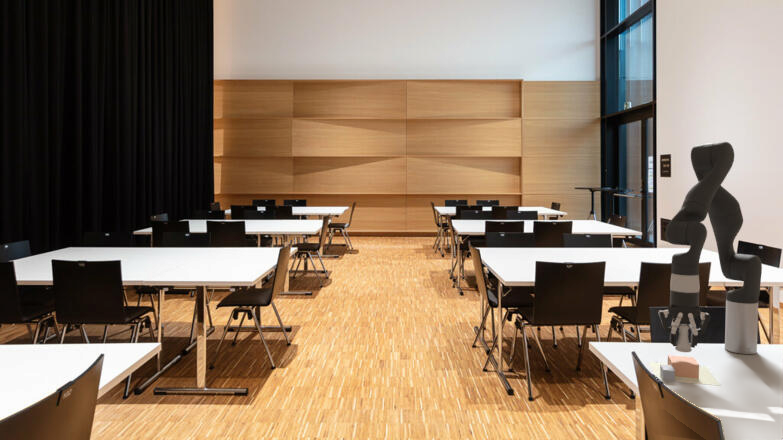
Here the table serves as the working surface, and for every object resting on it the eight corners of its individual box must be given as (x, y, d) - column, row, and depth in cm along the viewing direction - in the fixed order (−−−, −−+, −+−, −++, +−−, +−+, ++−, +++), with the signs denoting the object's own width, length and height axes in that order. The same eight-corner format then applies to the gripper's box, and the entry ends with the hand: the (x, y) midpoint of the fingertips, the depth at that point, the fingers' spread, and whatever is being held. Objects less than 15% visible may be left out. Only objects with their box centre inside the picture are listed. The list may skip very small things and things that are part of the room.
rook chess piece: (694, 353, 155) (694, 326, 154) (677, 352, 156) (678, 325, 155) (688, 348, 159) (689, 322, 159) (672, 347, 160) (673, 321, 159)
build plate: (649, 365, 168) (649, 362, 168) (706, 370, 163) (706, 367, 163) (657, 383, 153) (657, 379, 153) (720, 389, 148) (720, 385, 148)
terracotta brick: (667, 368, 162) (667, 355, 162) (693, 370, 160) (693, 357, 160) (671, 375, 155) (672, 362, 155) (698, 378, 153) (699, 364, 153)
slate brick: (660, 374, 157) (660, 364, 157) (671, 375, 156) (671, 365, 156) (663, 380, 152) (663, 369, 152) (674, 381, 151) (675, 370, 151)
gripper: (708, 288, 158) (707, 344, 159) (655, 285, 162) (654, 340, 163) (715, 292, 150) (714, 352, 151) (659, 290, 155) (658, 347, 156)
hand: (683, 345), depth 157 cm, fingers closed on rook chess piece, 4 cm apart
